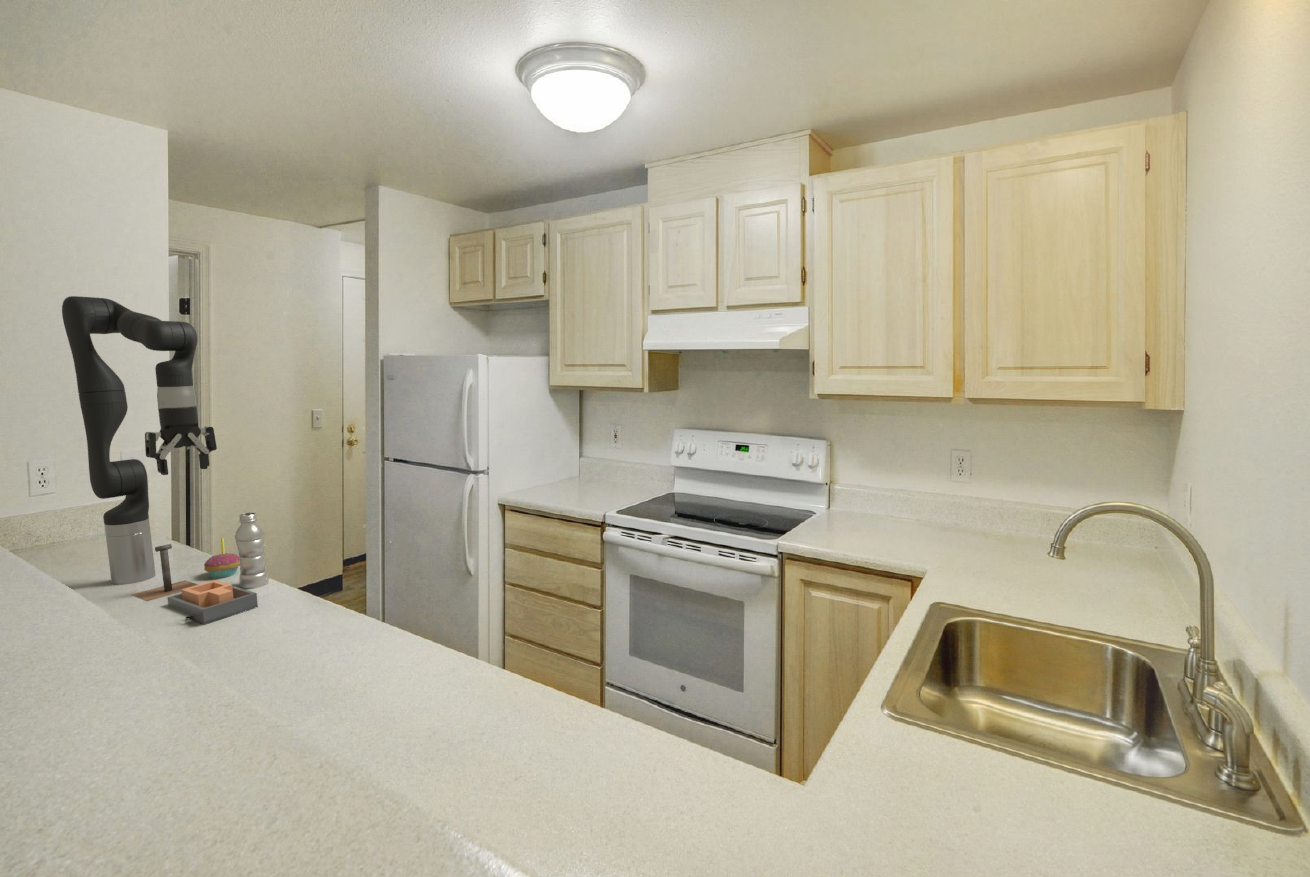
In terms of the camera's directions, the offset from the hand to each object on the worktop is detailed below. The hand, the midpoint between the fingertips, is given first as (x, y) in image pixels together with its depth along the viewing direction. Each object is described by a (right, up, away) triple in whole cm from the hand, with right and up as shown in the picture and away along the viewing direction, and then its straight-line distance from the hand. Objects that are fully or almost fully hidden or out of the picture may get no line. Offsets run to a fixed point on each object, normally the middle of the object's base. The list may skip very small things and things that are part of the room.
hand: (184, 471), depth 159 cm
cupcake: (-2, -30, +18) cm, 35 cm away
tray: (+9, -33, -4) cm, 34 cm away
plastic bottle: (+12, -31, +9) cm, 34 cm away
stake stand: (-8, -32, +6) cm, 33 cm away
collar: (+10, -32, -4) cm, 34 cm away
